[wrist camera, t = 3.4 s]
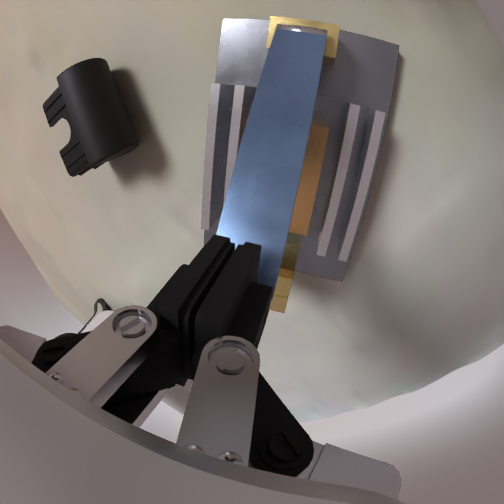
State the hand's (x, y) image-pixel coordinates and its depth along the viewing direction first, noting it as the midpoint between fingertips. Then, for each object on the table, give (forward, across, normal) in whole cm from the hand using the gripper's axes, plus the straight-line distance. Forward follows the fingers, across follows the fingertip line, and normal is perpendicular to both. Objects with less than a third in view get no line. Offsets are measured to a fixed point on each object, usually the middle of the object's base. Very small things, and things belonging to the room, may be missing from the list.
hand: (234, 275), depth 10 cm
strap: (+7, 0, -4) cm, 8 cm away
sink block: (+17, 0, -2) cm, 17 cm away
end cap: (+17, +19, -4) cm, 26 cm away
